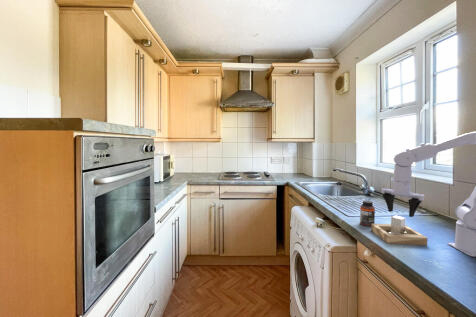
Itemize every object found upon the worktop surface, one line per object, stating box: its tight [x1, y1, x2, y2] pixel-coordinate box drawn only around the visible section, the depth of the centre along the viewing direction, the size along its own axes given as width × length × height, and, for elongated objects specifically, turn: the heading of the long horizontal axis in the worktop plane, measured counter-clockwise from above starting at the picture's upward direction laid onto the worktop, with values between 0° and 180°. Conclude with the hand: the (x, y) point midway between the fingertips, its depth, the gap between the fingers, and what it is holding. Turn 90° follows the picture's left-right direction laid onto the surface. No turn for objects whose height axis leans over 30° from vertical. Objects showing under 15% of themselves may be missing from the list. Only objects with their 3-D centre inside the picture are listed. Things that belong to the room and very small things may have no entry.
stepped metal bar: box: [389, 215, 406, 234], centre depth 89 cm, size 4×7×8 cm, turn 120°
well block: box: [370, 223, 428, 246], centre depth 89 cm, size 13×14×3 cm
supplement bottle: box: [359, 199, 376, 227], centre depth 103 cm, size 6×6×11 cm
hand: (400, 213), depth 89 cm, fingers open, 7 cm apart
